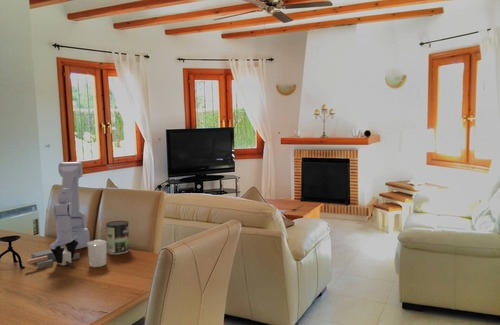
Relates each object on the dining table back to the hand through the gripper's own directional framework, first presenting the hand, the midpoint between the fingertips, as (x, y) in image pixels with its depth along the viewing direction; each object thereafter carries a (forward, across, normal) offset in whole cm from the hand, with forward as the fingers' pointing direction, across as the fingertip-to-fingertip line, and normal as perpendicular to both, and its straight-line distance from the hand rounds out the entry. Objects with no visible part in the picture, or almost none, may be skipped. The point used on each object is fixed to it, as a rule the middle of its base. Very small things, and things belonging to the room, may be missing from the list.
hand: (65, 260), depth 175 cm
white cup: (+2, -4, +14) cm, 15 cm away
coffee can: (+2, -22, +12) cm, 25 cm away
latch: (-1, +8, -7) cm, 11 cm away
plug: (+1, +1, +2) cm, 3 cm away
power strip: (+2, -3, -9) cm, 9 cm away
